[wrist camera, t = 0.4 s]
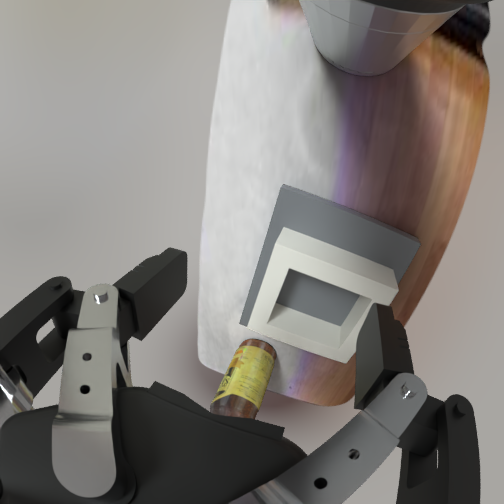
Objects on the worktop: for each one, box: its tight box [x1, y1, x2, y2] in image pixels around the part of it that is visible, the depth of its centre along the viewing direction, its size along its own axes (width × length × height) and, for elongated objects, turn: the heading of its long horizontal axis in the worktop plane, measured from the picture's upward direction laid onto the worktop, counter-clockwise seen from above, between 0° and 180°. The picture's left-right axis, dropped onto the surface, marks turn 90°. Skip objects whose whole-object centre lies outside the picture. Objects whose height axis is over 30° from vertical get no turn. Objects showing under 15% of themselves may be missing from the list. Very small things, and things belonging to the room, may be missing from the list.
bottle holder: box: [239, 184, 421, 364], centre depth 30 cm, size 20×16×6 cm
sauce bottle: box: [210, 339, 276, 419], centre depth 33 cm, size 7×6×20 cm
